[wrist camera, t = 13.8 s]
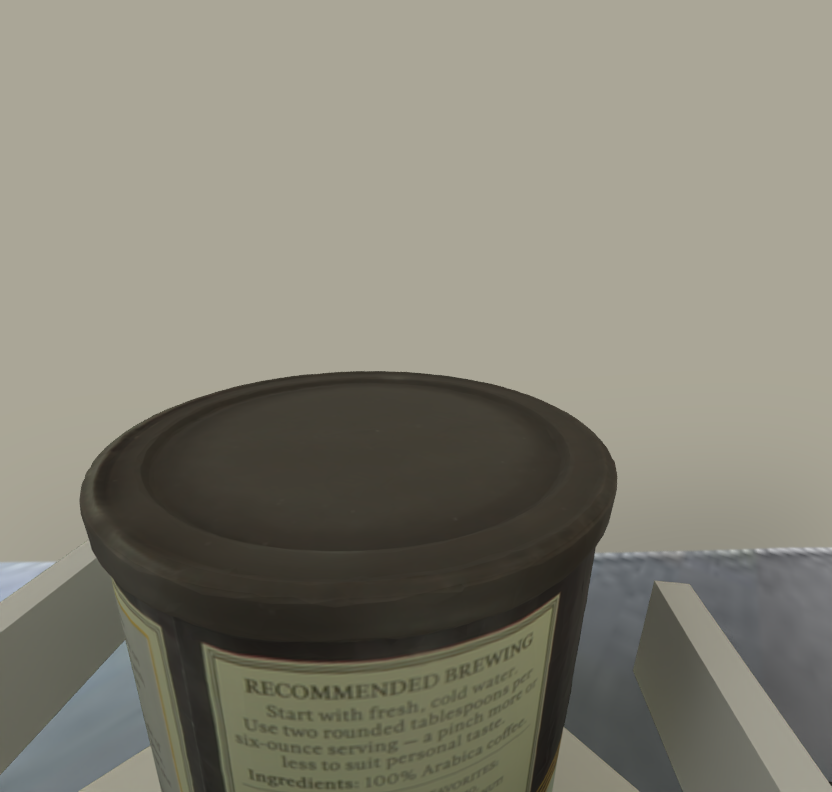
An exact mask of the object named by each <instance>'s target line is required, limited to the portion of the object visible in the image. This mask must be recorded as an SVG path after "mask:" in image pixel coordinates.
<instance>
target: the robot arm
mask: <svg viewBox="0 0 832 792" xmlns="http://www.w3.org/2000/svg"><path fill="white" fill-rule="evenodd" d="M124 640H125V636H124V631H123V627H122V623H121V619H120V614H119V610H118V606H117V601H116V597H115V592H114V588H113V584H112V579H111V576H110V575H109V574H108V573H107V571H106V570H105V569H104V568H103V567H102V566H101V564H100V563H99V561H98V559H97V558H96V556H95V554H94V553H93V551H92V549H91V545H90V541H89V540H87V541H86V542H84V543H83V544H81V545H80V546H79V547H77V548H76V549H74V550H73V551H72V552H70V553H69V554H68V555H66V556H65V557H63V558H62V559H61V560H59V561H58V562H56V563H55V564H53V565H52V566H51V567H49V568H48V569H46V570H45V571H44V572H42V573H41V574H39V575H38V576H37V577H35V578H34V579H32V580H31V581H30V582H28V583H27V584H25V585H24V586H23V587H21V588H20V589H18V590H17V591H16V592H14V593H13V594H11V595H10V596H9V597H7V598H6V599H4V600H3V601H2V602H0V775H1V774H2V773H3V771H4V770H5V769H6V768H7V767H8V766H9V765H10V764H11V763H12V762H13V761H14V760H15V758H16V757H17V756H18V755H19V754H20V753H21V752H22V751H23V750H24V749H25V748H26V747H27V745H28V744H29V743H30V742H31V741H32V740H33V739H34V738H35V737H36V736H37V735H38V733H39V732H40V731H41V730H42V729H43V728H44V727H45V726H46V725H47V724H48V723H49V722H50V720H51V719H52V718H53V717H54V716H55V715H56V714H57V713H58V712H59V711H60V710H61V709H62V707H63V706H64V705H65V704H66V703H67V702H68V701H69V700H70V699H71V698H72V697H73V696H74V694H75V693H76V692H77V691H78V690H79V689H80V688H81V687H82V686H83V685H84V684H85V683H86V681H87V680H88V679H89V678H90V677H91V676H92V675H93V674H94V673H95V672H96V671H97V670H98V668H99V667H100V666H101V665H102V664H103V663H104V662H105V661H106V660H107V659H108V658H109V657H110V655H111V654H112V653H113V652H114V651H115V650H116V649H117V648H118V647H119V646H120V645H121V644H122V642H123V641H124ZM633 672H634V674H635V677H636V679H637V682H638V684H639V686H640V689H641V691H642V694H643V696H644V699H645V701H646V703H647V706H648V708H649V711H650V713H651V716H652V718H653V720H654V723H655V725H656V728H657V730H658V733H659V735H660V737H661V740H662V742H663V745H664V747H665V750H666V752H667V754H668V757H669V759H670V762H671V764H672V767H673V769H674V771H675V774H676V776H677V779H678V781H679V784H680V786H681V788H682V791H683V792H832V782H828V781H827V779H826V778H825V776H824V775H823V774H822V772H821V771H820V769H819V768H818V767H817V765H816V764H815V762H814V761H813V759H812V758H811V757H810V755H809V754H808V752H807V751H806V749H805V748H804V747H803V745H802V744H801V742H800V741H799V739H798V738H797V737H796V735H795V734H794V732H793V731H792V730H791V728H790V727H789V725H788V724H787V722H786V721H785V720H784V718H783V717H782V715H781V714H780V712H779V711H778V710H777V708H776V707H775V705H774V704H773V702H772V701H771V700H770V698H769V697H768V695H767V694H766V693H765V691H764V690H763V688H762V687H761V685H760V684H759V683H758V681H757V680H756V678H755V677H754V675H753V674H752V673H751V671H750V670H749V668H748V667H747V665H746V664H745V663H744V661H743V660H742V658H741V657H740V656H739V654H738V653H737V651H736V650H735V648H734V647H733V646H732V644H731V643H730V641H729V640H728V638H727V637H726V636H725V634H724V633H723V631H722V630H721V628H720V627H719V626H718V624H717V623H716V621H715V620H714V619H713V617H712V616H711V614H710V613H709V611H708V610H707V609H706V607H705V606H704V604H703V603H702V601H701V600H700V599H699V597H698V596H697V594H696V593H695V591H694V590H693V589H692V587H691V586H690V584H682V583H673V582H663V581H654V585H653V589H652V593H651V597H650V601H649V606H648V610H647V614H646V618H645V622H644V627H643V631H642V635H641V639H640V643H639V648H638V652H637V656H636V660H635V664H634V669H633Z"/></svg>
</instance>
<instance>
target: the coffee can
mask: <svg viewBox="0 0 832 792" xmlns="http://www.w3.org/2000/svg"><path fill="white" fill-rule="evenodd" d="M616 490H617V472H616V467H615V462H614V460H613V459H612V457H611V455H610V453H609V451H608V449H607V447H606V446H605V445H604V444H603V442H602V441H601V440H600V439H599V438H598V437H597V436H596V435H595V434H594V432H592V431H591V430H590V429H589V428H588V427H586V426H585V425H584V424H583V423H581V422H580V421H579V420H578V419H576V418H575V417H573V416H572V415H570V414H568V413H567V412H565V411H562V410H560V409H559V408H557V407H555V406H553V405H550V404H548V403H546V402H544V401H542V400H539V399H537V398H534V397H532V396H530V395H526V394H523V393H520V392H518V391H515V390H511V389H507V388H504V387H501V386H497V385H493V384H488V383H484V382H478V381H473V380H468V379H462V378H456V377H450V376H442V375H432V374H421V373H410V372H385V371H373V372H372V371H371V372H370V371H369V372H364V371H356V372H335V373H323V374H311V375H299V376H291V377H285V378H278V379H272V380H266V381H260V382H255V383H251V384H246V385H241V386H237V387H233V388H230V389H226V390H222V391H218V392H215V393H212V394H209V395H206V396H202V397H199V398H196V399H193V400H190V401H187V402H185V403H183V404H180V405H177V406H175V407H172V408H169V409H167V410H164V411H162V412H160V413H159V414H156V415H153V416H152V417H150V418H148V419H147V420H144V421H143V422H141V423H139V424H137V425H136V426H134V427H132V428H131V429H129V430H128V431H126V432H125V433H123V434H122V435H121V436H119V437H118V438H117V439H115V440H114V441H113V442H112V443H110V445H108V446H107V447H106V448H105V449H104V450H103V451H102V452H101V453H100V454H99V455H98V456H97V458H96V459H95V460H94V462H93V463H92V465H91V468H90V469H89V470H88V471H87V473H86V475H85V479H84V481H83V483H82V487H81V493H80V510H81V516H82V519H83V522H84V525H85V528H86V531H87V534H88V538H89V541H90V545H91V549H92V551H93V553H94V554H95V556H96V558H97V559H98V561H99V563H100V564H101V566H102V567H103V568H104V569H105V570H106V571H107V573H108V574H109V575H110V576H111V579H112V584H113V588H114V592H115V597H116V601H117V606H118V610H119V614H120V619H121V623H122V627H123V631H124V636H125V640H126V644H127V648H128V652H129V657H130V661H131V665H132V669H133V673H134V678H135V682H136V686H137V690H138V695H139V699H140V703H141V707H142V711H143V716H144V720H145V724H146V728H147V732H148V737H149V741H150V745H151V749H152V754H153V758H154V762H155V766H156V771H157V775H158V779H159V783H160V788H161V792H552V789H553V783H554V778H555V772H556V766H557V761H558V755H559V749H560V744H561V738H562V733H563V728H564V723H565V718H566V713H567V707H568V703H569V697H570V694H571V687H572V678H573V673H574V667H575V661H576V656H577V651H578V645H579V640H580V634H581V628H582V622H583V616H584V611H585V607H586V602H587V595H588V588H589V583H590V577H591V571H592V565H593V560H594V554H595V547H596V545H597V543H598V542H599V541H600V539H601V538H602V536H603V535H604V532H605V530H606V527H607V525H608V523H609V519H610V515H611V511H612V507H613V503H614V499H615V495H616Z"/></svg>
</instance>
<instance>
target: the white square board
mask: <svg viewBox="0 0 832 792" xmlns="http://www.w3.org/2000/svg"><path fill="white" fill-rule="evenodd" d="M78 792H161V788H160V783H159V779H158V775H157V771H156V766H155V762H154V758H153V754H152V749H151V745H150V746H149V747H147V748H146V749H144V750H143V751H141V752H140V753H138V754H136V755H135V756H133V757H132V758H130V759H129V760H127V761H125V762H124V763H122V764H121V765H119V766H118V767H116V768H114V769H113V770H111V771H110V772H108V773H107V774H105V775H103V776H102V777H100V778H99V779H97V780H96V781H94V782H92V783H91V784H89V785H88V786H86V787H85V788H83V789H81V790H80V791H78ZM552 792H640V791H638V790H637V789H636V788H635V787H634V786H632V785H631V784H630V783H629V782H628V781H627V780H625V779H624V778H623V777H622V776H621V775H620V774H618V773H617V772H616V771H615V770H614V769H612V768H611V767H610V766H609V765H608V764H607V763H605V762H604V761H603V760H602V759H601V758H600V757H598V756H597V755H596V754H595V753H594V752H593V751H591V750H590V749H589V748H588V747H587V746H585V745H584V744H583V743H582V742H581V741H580V740H578V739H577V738H576V737H575V736H574V735H573V734H571V733H570V732H569V731H568V730H567V729H565V728H563V733H562V738H561V744H560V749H559V755H558V761H557V766H556V772H555V778H554V783H553V789H552Z"/></svg>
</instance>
